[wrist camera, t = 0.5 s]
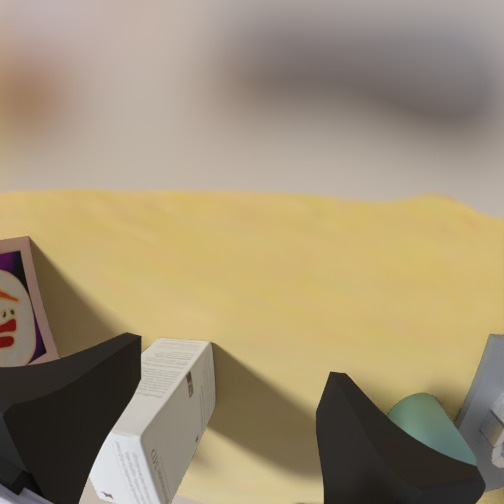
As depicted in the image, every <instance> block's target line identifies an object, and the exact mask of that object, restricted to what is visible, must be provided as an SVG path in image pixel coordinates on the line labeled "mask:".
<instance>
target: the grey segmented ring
mask: <svg viewBox="0 0 504 504" xmlns="http://www.w3.org/2000/svg"><path fill="white" fill-rule="evenodd" d="M490 409H491V410H488V412H487V414H486V416H485V418H484V420H483V422H482V424H481V426H480V430H479V445H480V447H481V448H482V449H483V451H484V452H485V454H486V455H487V457H488V458H489V460H490V461H491V462H492V464H494V465H495V466H497V467H499V468H503V467H504V392H503V393H502V394H501V395H500V397H499V398H498V399H497V400H496V401H495V402H494V404H493V405H492V406H491V407H490Z"/></svg>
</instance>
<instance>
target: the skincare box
mask: <svg viewBox="0 0 504 504" xmlns="http://www.w3.org/2000/svg"><path fill="white" fill-rule="evenodd" d="M214 408H215V374H214V362H213V351H212V345H211V342H208V341H197V340H184V339H170V338H159V339H158V340H157V341H155V342H154V343H153V344H152V345H151V346H150V347H149V348H148V349H147V350H145V351H144V352H143V353H142V354H141V380H140V383H139V385H138V387H137V389H136V392H135V394H134V396H133V398H132V399H131V401H130V403H129V404H128V406H127V407H126V409H125V410H124V412H123V413H122V415H121V416H120V418H119V419H118V421H117V422H116V424H115V425H114V427H113V429H112V430H111V432H110V433H109V435H108V436H107V438H106V440H105V441H104V443H103V445H102V447H101V449H100V451H99V454H98V456H97V458H96V460H95V462H94V465H93V467H92V469H91V472H90V474H89V477H90V479H91V481H92V484H93V486H94V488H95V490H96V492H97V494H98V497H99V498H100V499H103V500H106V501H108V502H112V503H115V504H171V502H172V500H173V498H174V496H175V494H176V492H177V490H178V487H179V485H180V483H181V481H182V479H183V477H184V475H185V473H186V470H187V468H188V466H189V464H190V462H191V459H192V457H193V455H194V453H195V451H196V448H197V446H198V444H199V441H200V439H201V437H202V435H203V433H204V430H205V428H206V426H207V424H208V422H209V419H210V417H211V415H212V413H213V410H214Z"/></svg>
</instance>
